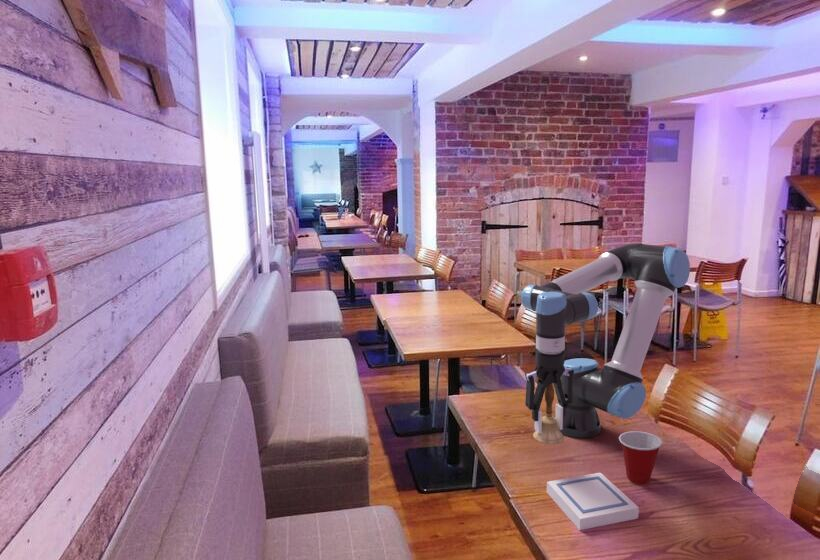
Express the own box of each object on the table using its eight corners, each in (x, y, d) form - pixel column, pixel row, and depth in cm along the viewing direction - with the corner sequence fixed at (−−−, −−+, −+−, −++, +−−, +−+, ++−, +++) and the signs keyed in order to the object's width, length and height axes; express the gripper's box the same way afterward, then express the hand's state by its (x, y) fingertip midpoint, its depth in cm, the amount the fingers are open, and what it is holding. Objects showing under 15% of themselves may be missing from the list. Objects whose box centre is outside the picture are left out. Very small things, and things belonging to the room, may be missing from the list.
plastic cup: (626, 463, 155) (629, 425, 153) (665, 477, 147) (668, 437, 145) (609, 478, 148) (611, 438, 145) (649, 494, 140) (652, 452, 138)
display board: (599, 482, 146) (600, 471, 145) (638, 518, 131) (638, 506, 130) (546, 491, 142) (546, 481, 141) (579, 530, 127) (580, 518, 126)
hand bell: (529, 430, 152) (530, 378, 149) (557, 428, 153) (559, 376, 150) (538, 445, 144) (539, 390, 141) (568, 443, 145) (570, 388, 142)
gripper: (524, 358, 137) (523, 441, 142) (589, 350, 142) (585, 430, 147) (512, 349, 145) (511, 428, 150) (573, 341, 149) (571, 418, 154)
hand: (548, 429), depth 148 cm, fingers closed on hand bell, 6 cm apart
